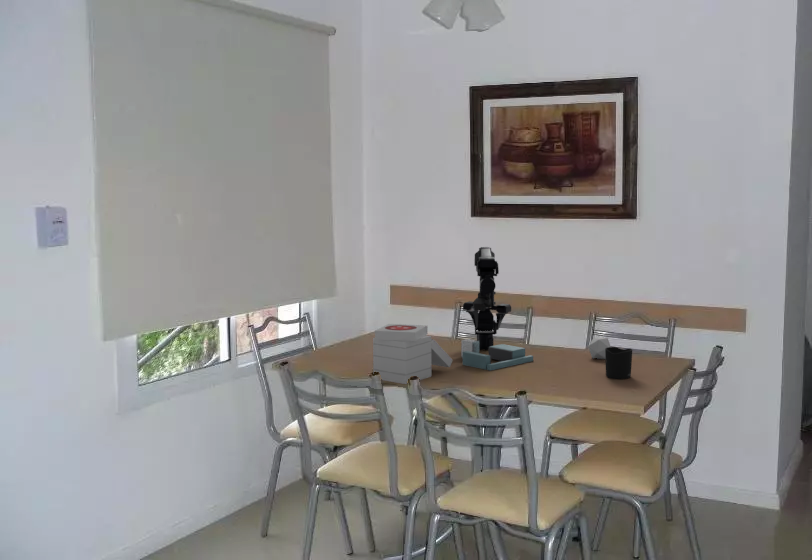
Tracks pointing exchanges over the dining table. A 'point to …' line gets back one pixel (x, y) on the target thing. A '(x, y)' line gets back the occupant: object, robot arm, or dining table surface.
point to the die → (598, 347)
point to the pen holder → (618, 363)
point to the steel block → (469, 346)
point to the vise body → (485, 361)
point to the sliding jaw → (505, 352)
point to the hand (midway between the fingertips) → (486, 328)
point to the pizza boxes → (406, 353)
